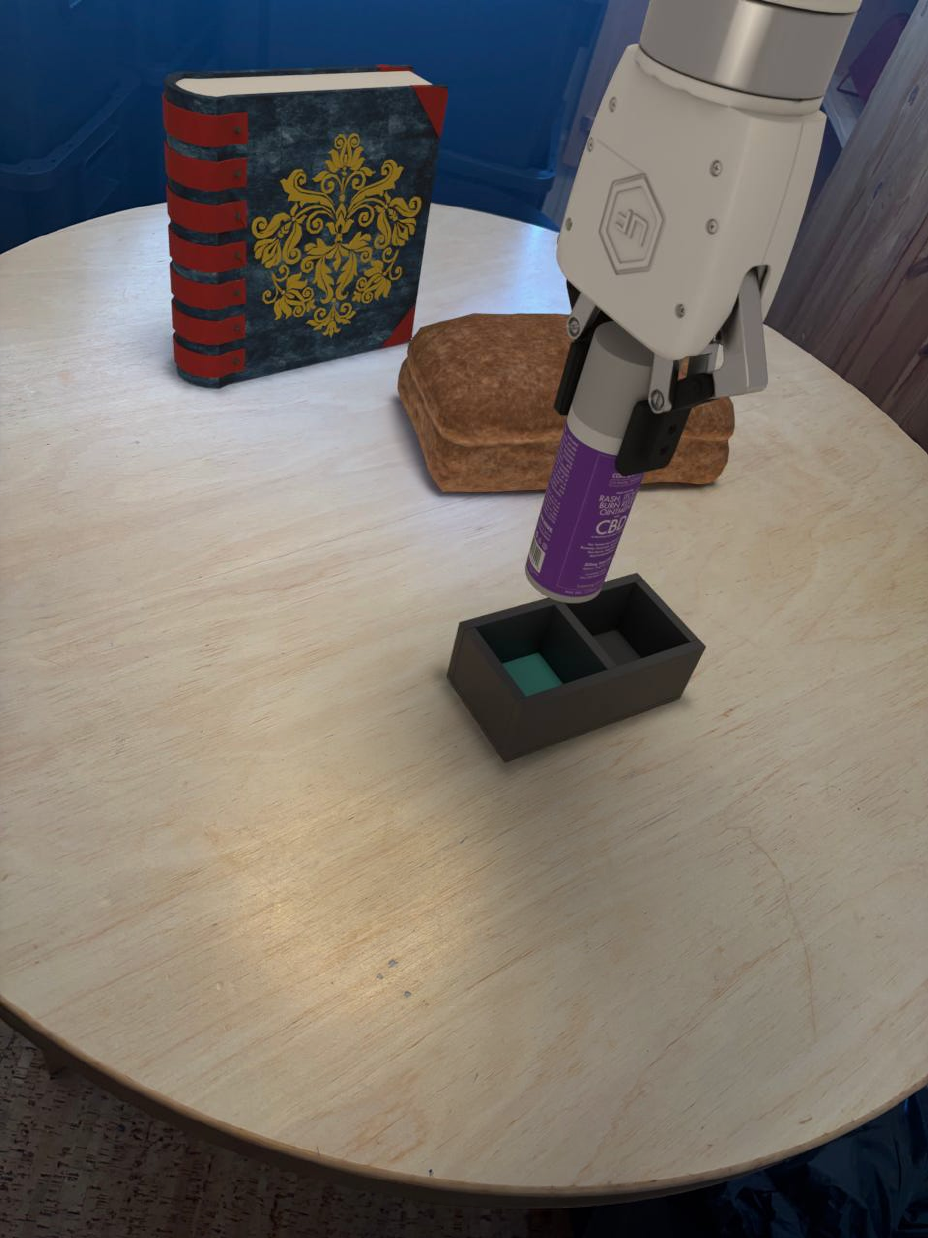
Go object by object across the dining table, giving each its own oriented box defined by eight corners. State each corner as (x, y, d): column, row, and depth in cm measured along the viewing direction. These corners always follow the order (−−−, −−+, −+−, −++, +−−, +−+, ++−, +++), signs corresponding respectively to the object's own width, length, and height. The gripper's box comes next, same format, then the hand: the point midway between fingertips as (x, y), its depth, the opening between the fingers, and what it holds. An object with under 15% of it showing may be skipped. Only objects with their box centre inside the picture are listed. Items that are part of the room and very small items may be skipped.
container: (580, 615, 53) (664, 380, 43) (509, 576, 55) (574, 339, 44) (615, 575, 56) (702, 346, 46) (548, 539, 58) (617, 309, 47)
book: (195, 396, 86) (188, 101, 69) (159, 358, 90) (144, 68, 73) (414, 344, 100) (454, 87, 83) (376, 313, 104) (407, 60, 86)
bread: (725, 491, 90) (773, 386, 82) (429, 501, 81) (451, 384, 73) (654, 393, 101) (689, 292, 94) (386, 392, 92) (401, 280, 84)
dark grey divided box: (680, 698, 69) (706, 646, 66) (504, 762, 62) (522, 709, 59) (616, 624, 74) (637, 571, 70) (445, 676, 67) (458, 621, 63)
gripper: (541, -29, 40) (466, 362, 52) (830, 121, 30) (652, 557, 42) (677, -16, 43) (575, 348, 55) (974, 122, 33) (771, 524, 46)
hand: (610, 435), depth 49 cm, fingers closed on container, 4 cm apart
